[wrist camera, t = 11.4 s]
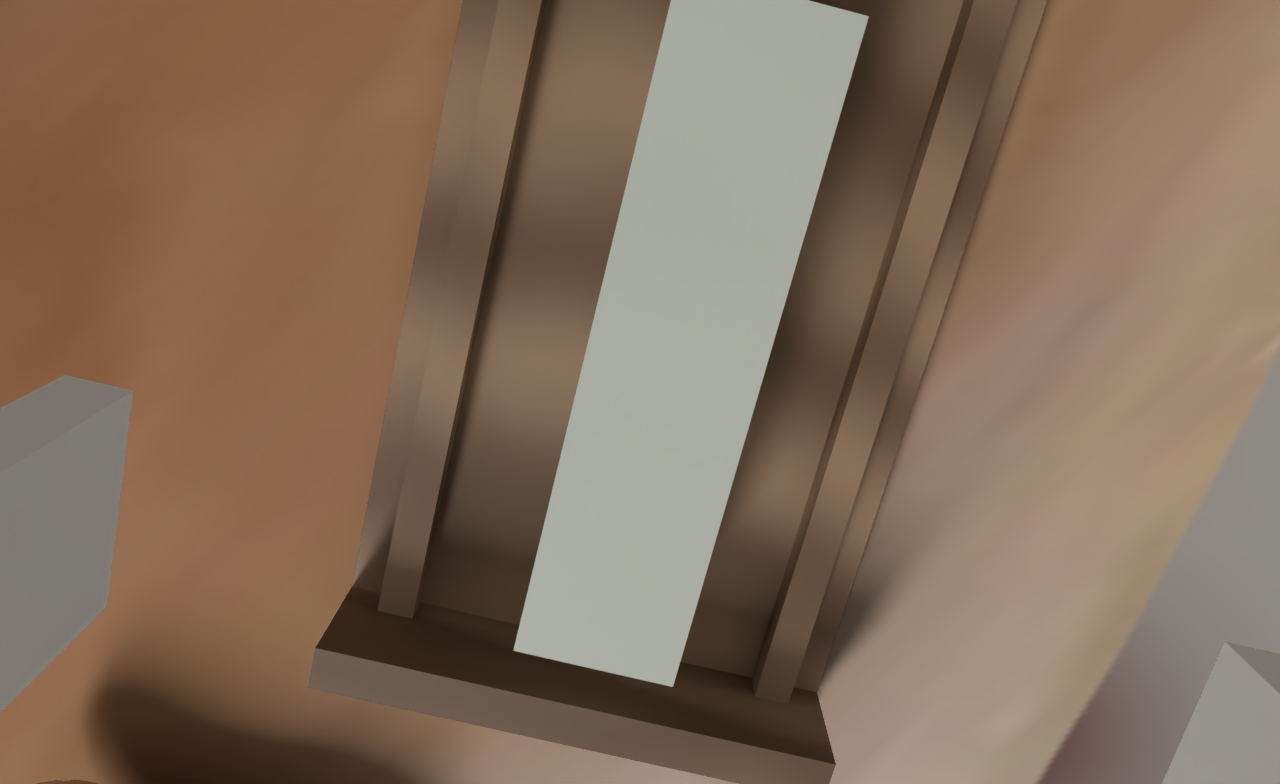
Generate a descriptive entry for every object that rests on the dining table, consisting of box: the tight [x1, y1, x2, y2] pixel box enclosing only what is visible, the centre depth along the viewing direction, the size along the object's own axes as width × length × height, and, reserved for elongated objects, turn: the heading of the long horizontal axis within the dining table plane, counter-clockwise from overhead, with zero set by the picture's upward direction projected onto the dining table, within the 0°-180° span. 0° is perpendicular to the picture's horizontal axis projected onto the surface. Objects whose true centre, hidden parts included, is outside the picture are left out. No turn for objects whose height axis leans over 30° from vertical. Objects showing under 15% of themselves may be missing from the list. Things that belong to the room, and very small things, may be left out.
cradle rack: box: [308, 0, 1047, 784], centre depth 28 cm, size 24×14×4 cm, turn 166°
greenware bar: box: [513, 0, 869, 687], centre depth 27 cm, size 4×16×5 cm, turn 166°
